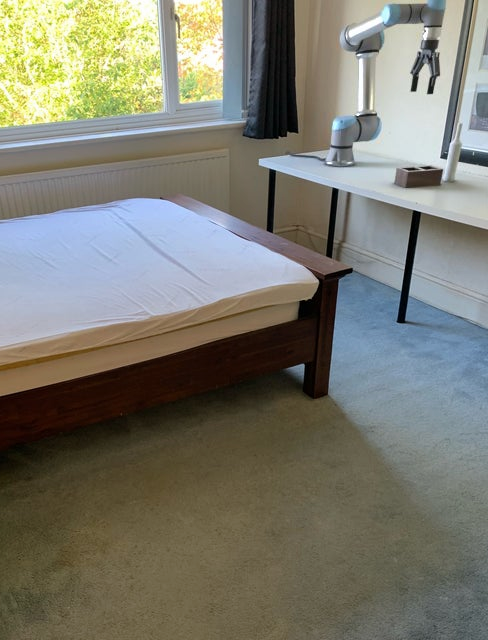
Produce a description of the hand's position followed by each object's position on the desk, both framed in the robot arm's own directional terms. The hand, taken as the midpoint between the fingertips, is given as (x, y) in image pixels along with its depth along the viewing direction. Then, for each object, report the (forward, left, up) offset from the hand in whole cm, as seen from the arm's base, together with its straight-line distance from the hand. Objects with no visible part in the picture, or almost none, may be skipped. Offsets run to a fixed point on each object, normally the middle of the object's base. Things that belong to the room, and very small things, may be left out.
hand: (421, 93), depth 272 cm
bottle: (+15, +13, -37) cm, 42 cm away
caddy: (+17, -5, -37) cm, 41 cm away
